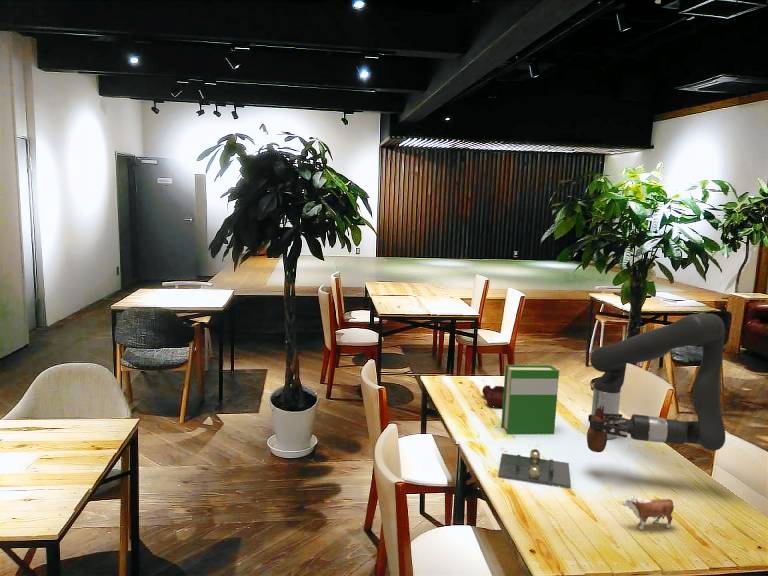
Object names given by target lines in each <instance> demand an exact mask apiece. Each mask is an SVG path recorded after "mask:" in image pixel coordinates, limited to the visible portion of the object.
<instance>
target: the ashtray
mask: <svg viewBox="0 0 768 576" xmlns="http://www.w3.org/2000/svg"><path fill="white" fill-rule="evenodd" d="M481 393H482V394H483V396H484V397H486V403H487V404H488V405H489V406H490V407H491V406H494V407H497V408H503V393H504V385H495V386H494V387H492V388H491V386H490V385H484V386H483V388H482V392H481ZM494 407H493V408H494Z"/></svg>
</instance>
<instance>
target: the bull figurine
mask: <svg viewBox="0 0 768 576" xmlns="http://www.w3.org/2000/svg"><path fill="white" fill-rule="evenodd" d="M622 505H623V506H624V507H627V508H628V509H630V510H631V511H632V512H633V514H634V515H635V516H636V517H637V519H639V521H638V523H637V525H639V527H638V530H639V531H643V530H644V529H645V527H644V526H645V524H646V523H647V520H648V518H653V519H654V520H653V521H652V523H653V524H655V525H656V524H657V523H659V522H660V519H662V520H664V519H665V518H666V519H667V524H666V525H665V529H671V528H670V527H672V525H671V524H672V521H673V517H672V514H673V512H674V509H675V505H674V501H673V500H672V499H671V498H667V499H662V498H659V499H658V498H657V499H646V498H645V499H643V498H641V497H639V498H636V497H635V495H630V496H628V497H627V498H626V500H625V501H623V502H622Z"/></svg>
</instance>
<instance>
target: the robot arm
mask: <svg viewBox="0 0 768 576" xmlns="http://www.w3.org/2000/svg"><path fill="white" fill-rule="evenodd" d="M725 327H726V326H725V324H724V321H723V319H722V318H721V317H720V316H718V315H717V314H715V313H691V314H688V315H686V316H684V317H681V318H679V319H677V320H676V321H674V322H672V323H670V324H668V325H666V326H662V327H657V328H654V329H651V330H650V329H649V330H647V331H644V332H641V333H638V334H636V335H634V336H631V337H629V338H626V339H624V340H622V341H620V342H616V343H615V344H614V343H613V344H610V345H609V344H608V345H603V346H598V347H596V348H595V349H594V350H593V351H592V352H591V354H590V360H589V361H590V364H591V366H592V368H593V369H594V370H596V371H597V372H601V373H603V374H602V375H601V376H600V377H598V378H596V379H595V380H594V383H593V393H592V394H593V395H592V403H591V412H590V414H588V419H587V420H588V422H589V427H590V428H592V429H599V430H603V431H606V434H607V440H613V439H616V438H617V437H620V438H627V437H628V435H630V439H631V440H636V441H645V442H649V443H650V442H651V443H666V444H673V445H684V444H693V445H700V446H701V447H703V448H704V449H705V450H709V451H713V452H714V451H715V452H716V451H718V450H720V449H722V448H723V447H724V445H725V443H726V429H725V424H724V419H723V416H722V401H721V398H722V397H721V369H722V363H723V361H722V360H723V354H724V346H725V345H724V344H725V337H726V336H725V335H726V328H725ZM689 346H701V347H702V359H701V362H700V366H699V367H698V370H697V373H696V374H695V375H696V376H695V379H694V382H693V387H692V392H693V393H692V395H693V396H692V398H693V409H694V412H695V414H696V416H697V417H696V418H697V421H696V420H695V421H694V420H689V421H688V420H685V421H684V420H678V419H671V418H663V417H660V416H659V417H658V416H654V415H642V414H638V413H637V414H636V413H633V414H632V415H631V416H630V419H629V418H625V417H623V414H621V413H619V411H620V399H621V392H622V390H621V389H622V387H623V385H624V382H625V377H626V370H627V364H634V363H636V364H637V363H644V362H649V361H652V360H656V359H660V358H663V357H665V356H666V355H667V354H668V353H670V352H671V351H672V350H674V349H678V348H682V347H689ZM600 406H601V409H602V407H603V406H604V414H603V416H604V417H605V418H606V422H604V424H603V422H598V421H591V417H592V416H593V415H594V414H595V411H596V409H598V408H599V407H600Z"/></svg>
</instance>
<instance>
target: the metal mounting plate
mask: <svg viewBox="0 0 768 576" xmlns="http://www.w3.org/2000/svg"><path fill="white" fill-rule="evenodd" d="M529 454H530V455H529V456H522V455H521V454H509V453H501V456H500V461H499V462H500V463H499V468H498V474H497V478H502V479H508V480H513V481H514V480H515V481H519V482H527V483H531V484H532V483H533V484H541V485H545V484H546V485H547V486H552V485H554V486H553V487H558V486H560V487H559V488H564V489H565V488H566V489H572V488H571V487H572V483H571V482H572V481H571V475H570V474H571V473H570V464H569V462H564V461H563V462H562V461H558V460H554V459H544V458H541V453H540V451H539V449H536V448H535V449H531V451H530V452H529Z"/></svg>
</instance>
